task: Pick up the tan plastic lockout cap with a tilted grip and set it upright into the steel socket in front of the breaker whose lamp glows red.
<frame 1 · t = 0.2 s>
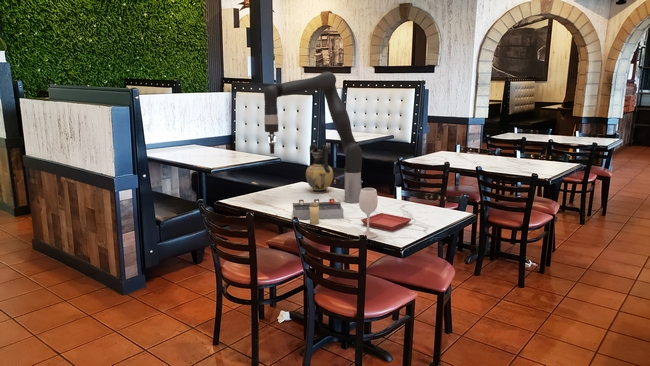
hand: (272, 152, 276), 29 cm above the table, tool pointing down, fingers open, 8 cm apart
plant saucer: (386, 226, 241), on the table
amphora: (319, 192, 313), on the table
breaker panel: (317, 215, 257), on the table
lockout cap: (314, 223, 243), on the table
wineglass: (367, 235, 225), on the table
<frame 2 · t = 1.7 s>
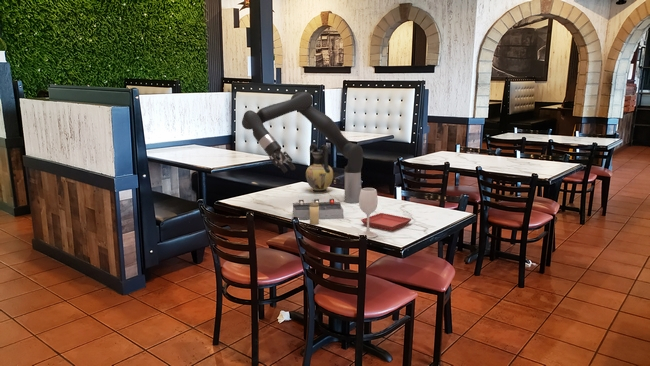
hand: (290, 170, 244), 25 cm above the table, tool tilted 45°, fingers open, 8 cm apart
nothing on the table moved.
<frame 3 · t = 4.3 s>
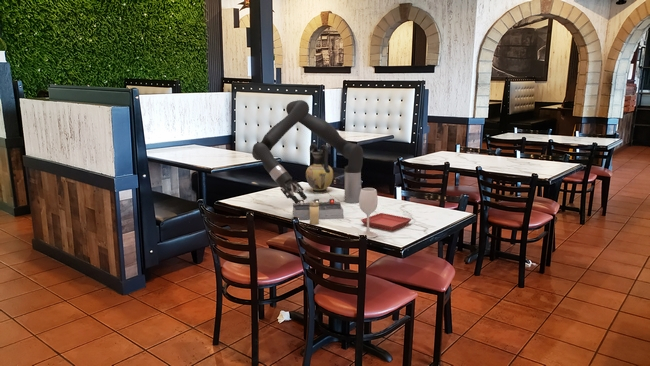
hand: (301, 200, 244), 11 cm above the table, tool tilted 45°, fingers open, 8 cm apart
nothing on the table moved.
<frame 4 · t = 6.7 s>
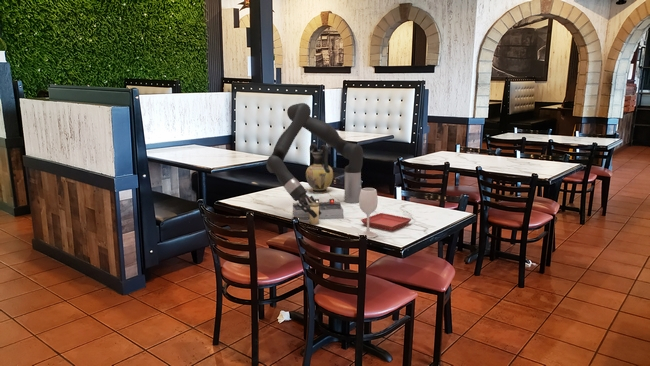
hand: (317, 215, 242), 4 cm above the table, tool tilted 45°, fingers closed on lockout cap, 4 cm apart
lockout cap: (314, 223, 243), on the table, touching gripper
everything else where it was.
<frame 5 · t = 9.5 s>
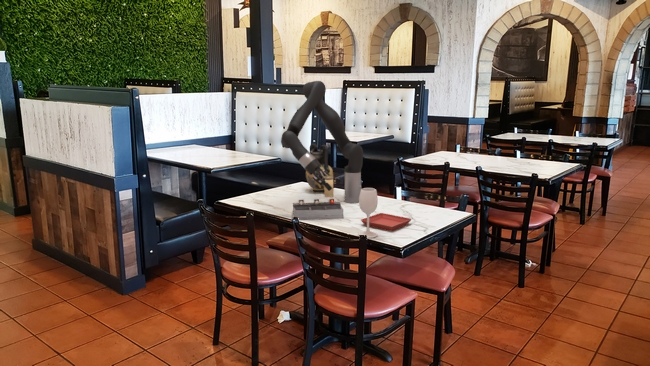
hand: (332, 188, 248), 16 cm above the table, tool tilted 45°, fingers closed on lockout cap, 4 cm apart
lockout cap: (329, 196, 250), point 11 cm above the table, touching gripper
everything else where it was.
when the fingers open (7 cm above the table, at t = 12.5 s): lockout cap drops 1 cm, resting on breaker panel.
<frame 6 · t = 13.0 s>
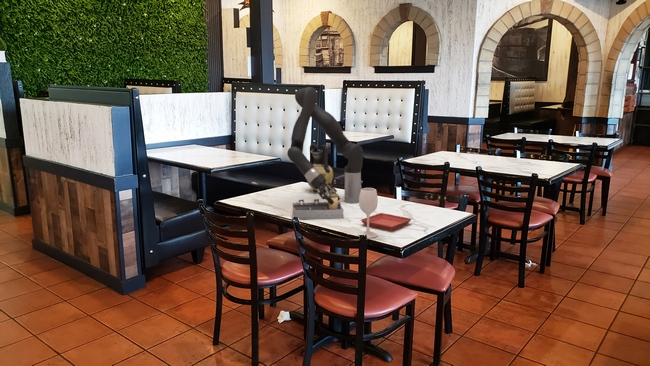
hand: (336, 201, 254), 8 cm above the table, tool tilted 45°, fingers open, 8 cm apart
lockout cap: (333, 213, 256), point 2 cm above the table, touching breaker panel
everything else where it was.
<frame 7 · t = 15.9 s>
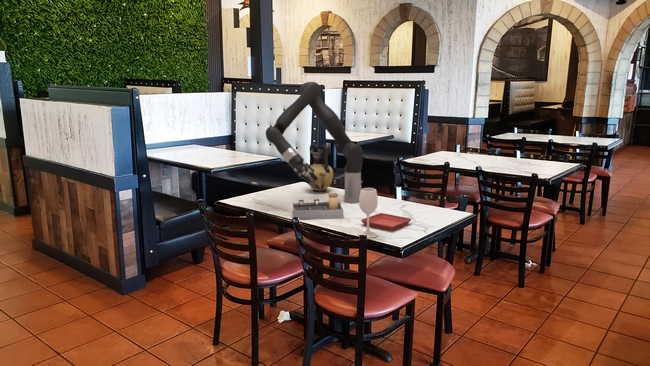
hand: (313, 181, 257), 17 cm above the table, tool tilted 45°, fingers open, 8 cm apart
nothing on the table moved.
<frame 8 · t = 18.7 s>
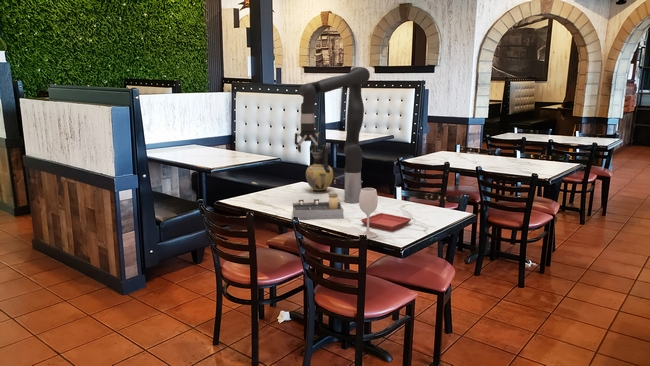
hand: (307, 152, 271), 30 cm above the table, tool pointing down, fingers open, 8 cm apart
nothing on the table moved.
at the end: lockout cap 0.1 cm from the target spot on the breaker panel, point 1.5 cm above the breaker panel's base; lockout cap tilted 1°; the gripper is holding nothing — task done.
